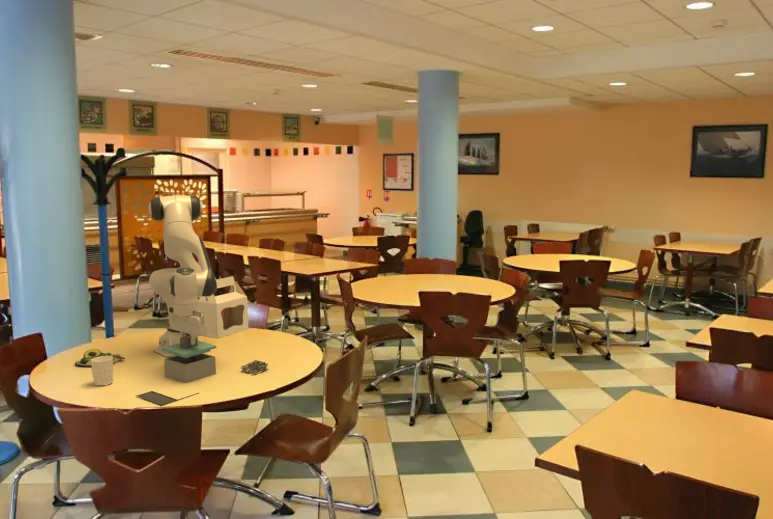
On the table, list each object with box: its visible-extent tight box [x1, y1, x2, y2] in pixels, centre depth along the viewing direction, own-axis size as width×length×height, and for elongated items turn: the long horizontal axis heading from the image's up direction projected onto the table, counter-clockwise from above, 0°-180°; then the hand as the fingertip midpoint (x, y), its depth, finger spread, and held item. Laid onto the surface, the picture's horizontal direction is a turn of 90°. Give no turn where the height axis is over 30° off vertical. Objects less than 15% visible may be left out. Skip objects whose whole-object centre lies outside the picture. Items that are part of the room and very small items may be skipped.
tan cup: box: [91, 356, 114, 386], centre depth 251 cm, size 8×8×10 cm
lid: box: [162, 336, 217, 358], centre depth 258 cm, size 15×15×6 cm
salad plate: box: [74, 348, 126, 367], centre depth 281 cm, size 19×18×5 cm
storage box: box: [163, 353, 217, 384], centre depth 259 cm, size 14×14×8 cm
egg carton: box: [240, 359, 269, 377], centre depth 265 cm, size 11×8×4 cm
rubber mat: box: [136, 390, 200, 407], centre depth 238 cm, size 16×16×1 cm
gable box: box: [198, 275, 249, 339], centre depth 329 cm, size 22×13×28 cm, turn 149°
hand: (188, 343), depth 257 cm, fingers closed on lid, 3 cm apart
